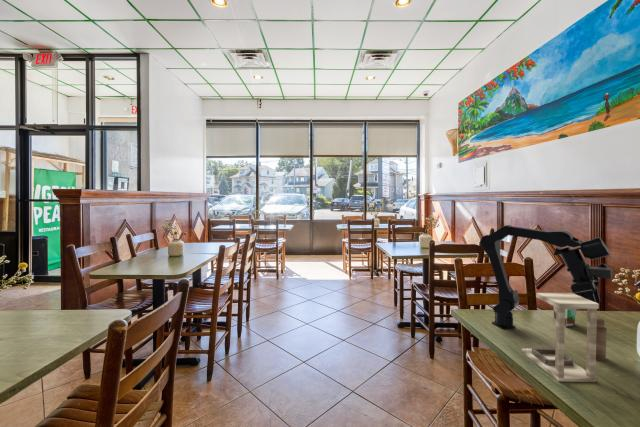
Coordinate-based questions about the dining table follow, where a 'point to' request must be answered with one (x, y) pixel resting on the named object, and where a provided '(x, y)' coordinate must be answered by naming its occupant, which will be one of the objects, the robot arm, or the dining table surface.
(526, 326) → the dining table surface
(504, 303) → the robot arm
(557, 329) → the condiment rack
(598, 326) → the pepper mill
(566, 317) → the food container
